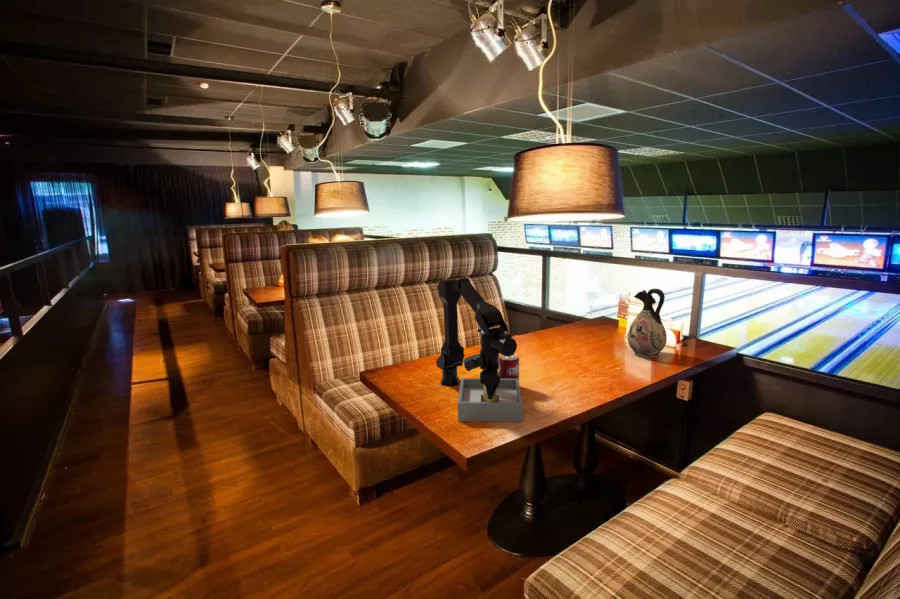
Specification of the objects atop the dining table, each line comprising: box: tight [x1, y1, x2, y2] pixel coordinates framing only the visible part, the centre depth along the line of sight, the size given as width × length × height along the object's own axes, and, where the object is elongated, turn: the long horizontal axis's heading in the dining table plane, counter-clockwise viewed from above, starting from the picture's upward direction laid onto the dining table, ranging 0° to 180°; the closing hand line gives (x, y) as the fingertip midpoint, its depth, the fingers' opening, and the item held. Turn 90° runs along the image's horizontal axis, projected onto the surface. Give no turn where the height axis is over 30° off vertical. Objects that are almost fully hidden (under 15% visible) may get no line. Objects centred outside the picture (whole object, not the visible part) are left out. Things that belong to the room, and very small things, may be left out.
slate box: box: [457, 377, 524, 423], centre depth 148 cm, size 20×20×6 cm
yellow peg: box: [484, 385, 496, 402], centre depth 148 cm, size 4×4×8 cm
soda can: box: [498, 353, 520, 380], centre depth 163 cm, size 7×7×12 cm
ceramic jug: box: [627, 288, 668, 359], centre depth 191 cm, size 17×15×30 cm
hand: (490, 393), depth 148 cm, fingers open, 9 cm apart
